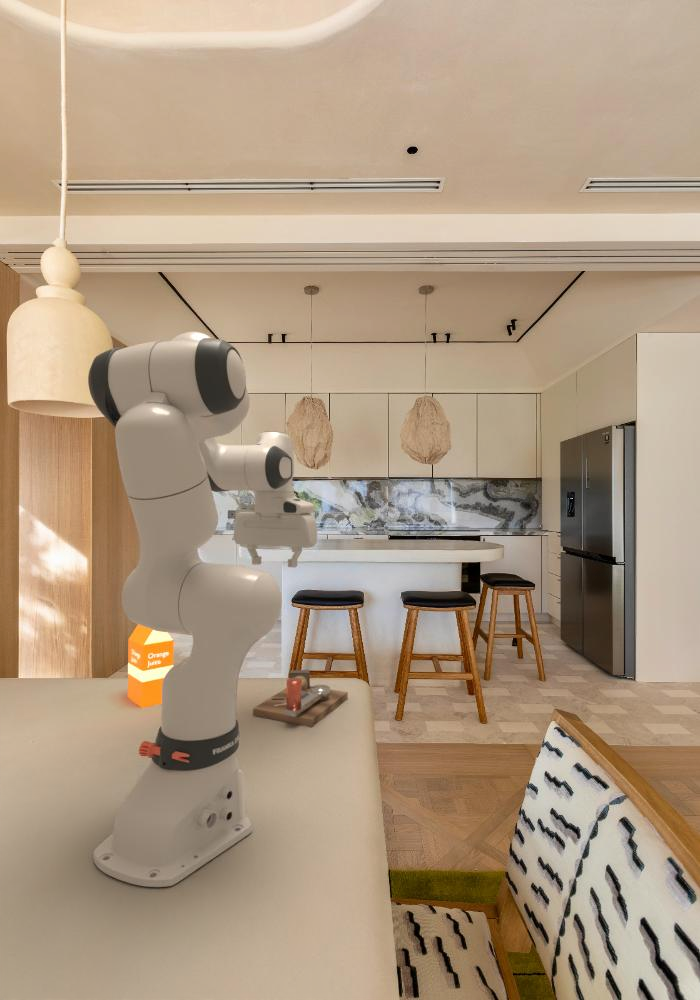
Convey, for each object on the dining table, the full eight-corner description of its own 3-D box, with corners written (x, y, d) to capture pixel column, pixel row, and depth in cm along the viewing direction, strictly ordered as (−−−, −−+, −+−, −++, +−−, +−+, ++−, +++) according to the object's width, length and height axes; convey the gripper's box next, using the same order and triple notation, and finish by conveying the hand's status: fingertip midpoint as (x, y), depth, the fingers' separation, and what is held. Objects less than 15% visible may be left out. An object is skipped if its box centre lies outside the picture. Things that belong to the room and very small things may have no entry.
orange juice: (141, 708, 129) (142, 621, 129) (127, 697, 136) (128, 615, 136) (173, 700, 135) (174, 617, 135) (158, 690, 141) (159, 611, 141)
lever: (299, 719, 118) (299, 683, 118) (277, 715, 121) (277, 680, 121) (332, 694, 134) (333, 663, 134) (312, 691, 136) (313, 660, 136)
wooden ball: (302, 696, 135) (303, 679, 135) (288, 693, 137) (288, 677, 137) (310, 690, 139) (310, 674, 139) (296, 688, 140) (296, 672, 140)
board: (312, 727, 120) (312, 701, 120) (252, 715, 126) (253, 690, 126) (347, 698, 138) (347, 675, 138) (294, 689, 144) (294, 667, 144)
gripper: (227, 504, 127) (227, 564, 128) (307, 506, 119) (307, 570, 119) (243, 503, 133) (243, 561, 134) (320, 505, 125) (320, 566, 125)
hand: (274, 565), depth 126 cm, fingers open, 8 cm apart
